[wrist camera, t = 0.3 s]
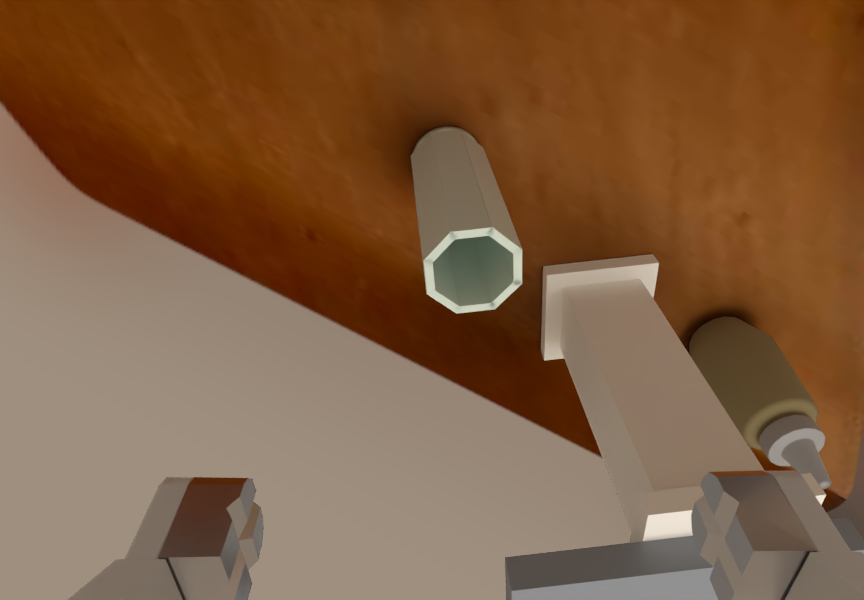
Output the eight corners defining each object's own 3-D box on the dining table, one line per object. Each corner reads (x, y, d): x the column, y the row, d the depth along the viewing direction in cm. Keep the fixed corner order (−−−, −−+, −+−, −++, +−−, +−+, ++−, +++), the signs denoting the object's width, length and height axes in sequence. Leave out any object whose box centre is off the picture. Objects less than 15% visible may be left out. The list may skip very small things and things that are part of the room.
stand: (543, 266, 55) (648, 515, 34) (652, 254, 55) (826, 494, 34) (540, 350, 61) (629, 608, 39) (639, 339, 61) (781, 590, 40)
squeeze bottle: (767, 302, 59) (895, 445, 45) (745, 365, 64) (855, 512, 49) (685, 309, 59) (788, 454, 44) (670, 371, 64) (758, 521, 49)
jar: (407, 129, 47) (420, 234, 33) (480, 122, 47) (522, 223, 33) (414, 196, 50) (428, 316, 36) (483, 189, 50) (522, 306, 37)
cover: (505, 557, 35) (511, 591, 33) (847, 517, 35) (870, 548, 34) (506, 602, 38) (512, 635, 36) (822, 565, 38) (842, 596, 36)
